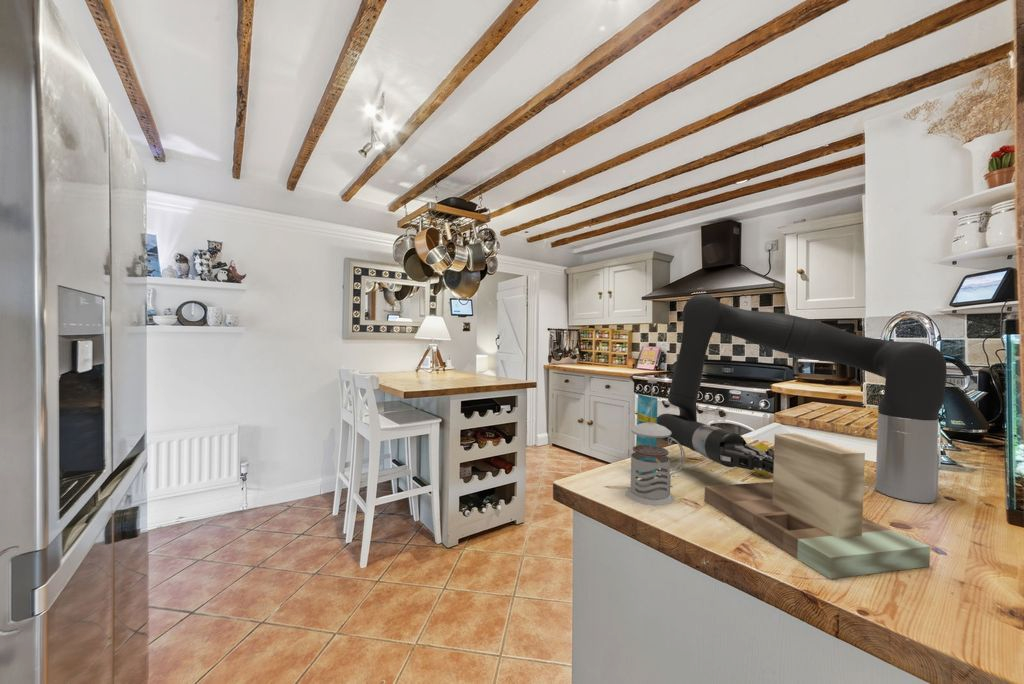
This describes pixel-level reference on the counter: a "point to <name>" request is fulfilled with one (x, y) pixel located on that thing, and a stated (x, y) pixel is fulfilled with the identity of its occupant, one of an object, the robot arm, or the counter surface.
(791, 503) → the block
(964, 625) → the counter surface
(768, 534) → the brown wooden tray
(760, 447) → the lemon
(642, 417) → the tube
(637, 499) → the french press
